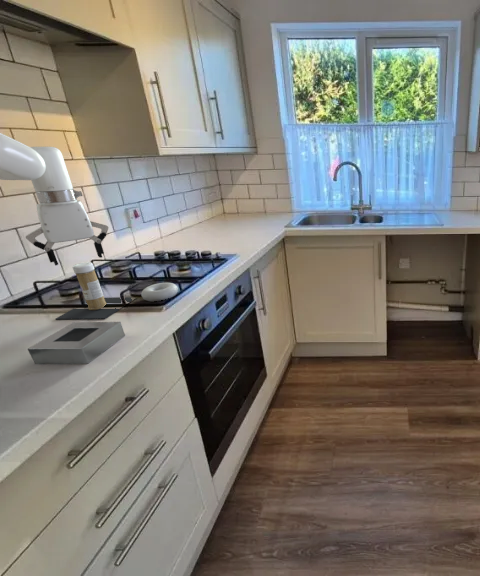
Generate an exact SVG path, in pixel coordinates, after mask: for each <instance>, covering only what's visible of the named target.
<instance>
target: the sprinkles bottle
mask: <svg viewBox="0 0 480 576" xmlns="http://www.w3.org/2000/svg"><path fill="white" fill-rule="evenodd" d="M72 271H73V272H74V274H75V275H76V278H77V280H78V281H77V282H78V283H79V287H80V289H81V292H82V294H83V297H84V300H85V302H87V305H88V309H89V310H98V309H101V308H103V307H104V306H105V305H106V304H107V303H106V302H105V299H104V298H105V295H104V293H103V290H102V287H101V284H100V281H99V279H98V276H97V273H96V270H95V265H94V264H93V262H90V261H86V262H85V261H84V262H80V263H76V264H74V265H72Z"/></svg>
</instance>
